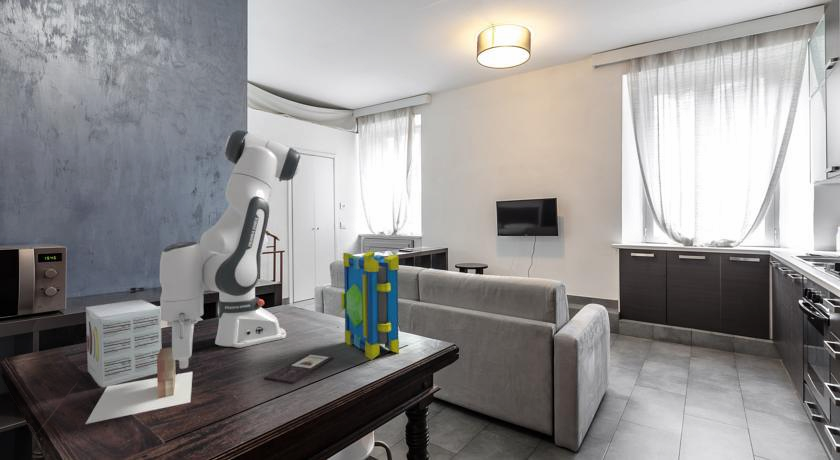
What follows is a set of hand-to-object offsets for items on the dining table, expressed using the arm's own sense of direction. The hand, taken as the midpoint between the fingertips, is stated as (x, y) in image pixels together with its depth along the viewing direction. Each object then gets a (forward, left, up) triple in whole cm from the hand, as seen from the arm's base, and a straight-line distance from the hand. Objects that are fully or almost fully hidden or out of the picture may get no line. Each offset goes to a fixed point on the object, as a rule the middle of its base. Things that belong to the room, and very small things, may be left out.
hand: (184, 366), depth 93 cm
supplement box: (+15, -20, -6) cm, 26 cm away
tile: (+4, 0, -5) cm, 6 cm away
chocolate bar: (-27, +1, -6) cm, 28 cm away
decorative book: (-50, -5, -6) cm, 51 cm away
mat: (+8, 0, -6) cm, 9 cm away
